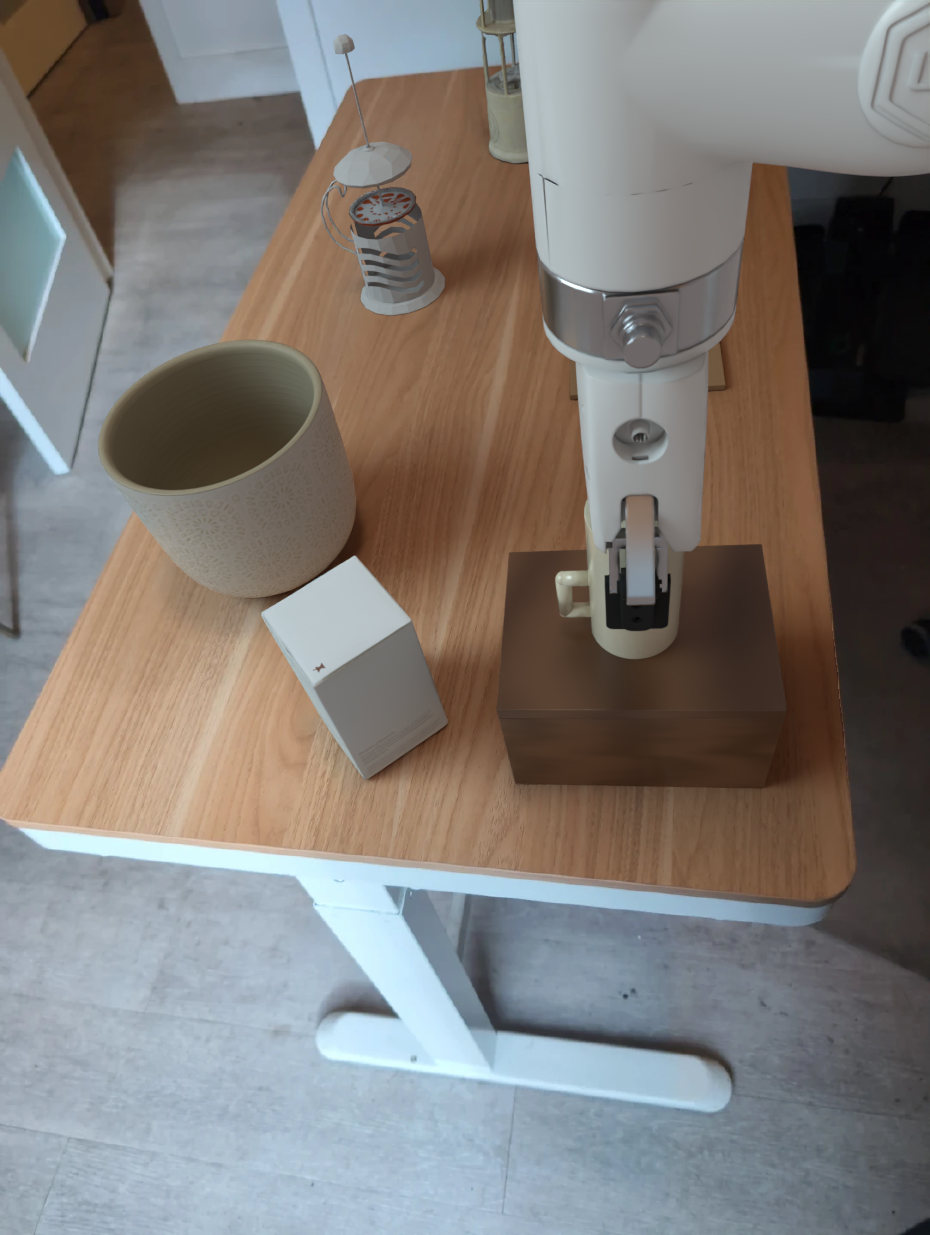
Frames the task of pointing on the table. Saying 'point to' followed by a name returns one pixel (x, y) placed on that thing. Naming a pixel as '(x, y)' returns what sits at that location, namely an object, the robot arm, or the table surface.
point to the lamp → (503, 86)
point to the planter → (235, 466)
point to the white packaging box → (359, 665)
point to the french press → (400, 272)
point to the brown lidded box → (642, 681)
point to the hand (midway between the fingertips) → (634, 570)
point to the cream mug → (594, 577)
